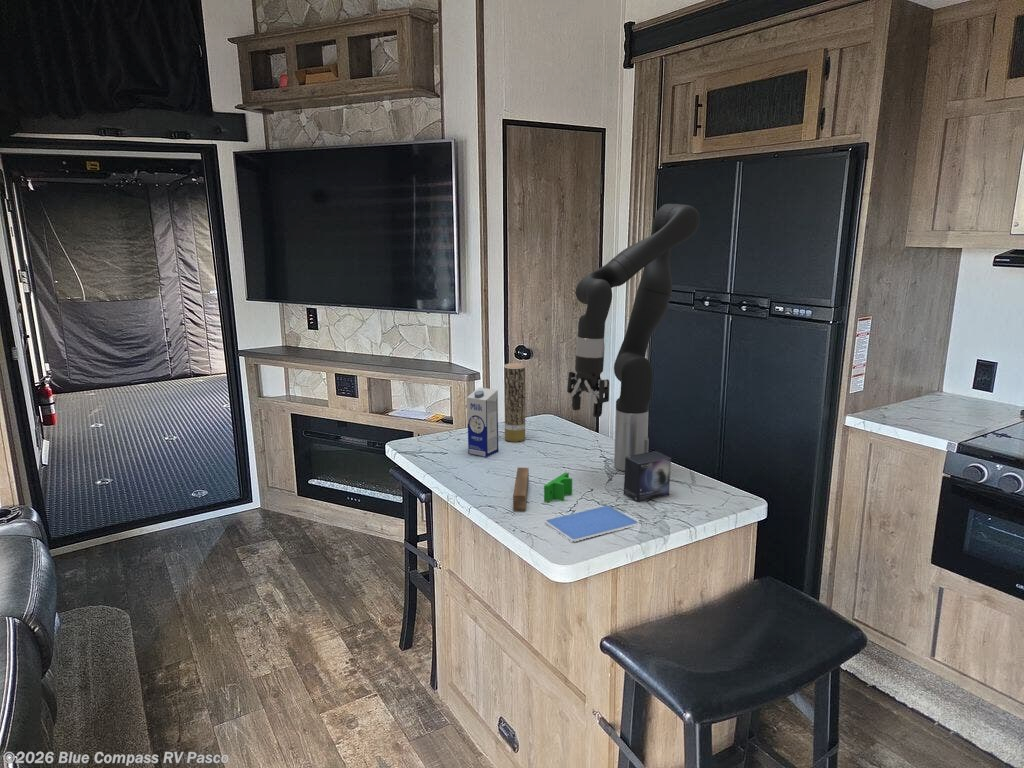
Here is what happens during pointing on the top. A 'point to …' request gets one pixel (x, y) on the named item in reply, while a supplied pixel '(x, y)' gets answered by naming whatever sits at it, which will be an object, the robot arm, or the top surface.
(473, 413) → the milk carton
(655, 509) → the top surface
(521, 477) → the block
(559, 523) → the tablet computer
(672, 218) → the robot arm
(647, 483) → the small box
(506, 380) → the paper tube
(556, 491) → the pipe clamp
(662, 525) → the top surface
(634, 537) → the top surface
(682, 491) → the top surface
